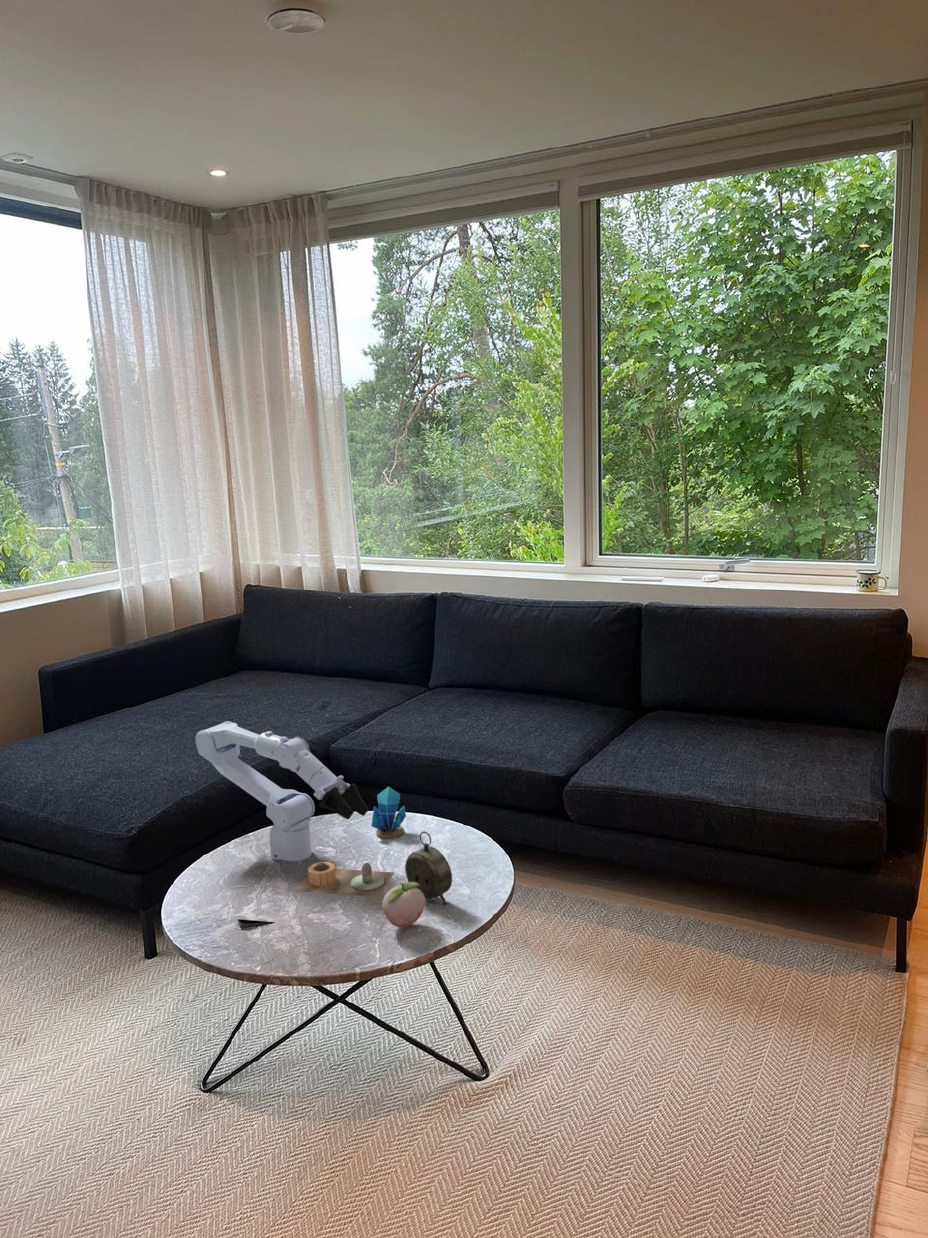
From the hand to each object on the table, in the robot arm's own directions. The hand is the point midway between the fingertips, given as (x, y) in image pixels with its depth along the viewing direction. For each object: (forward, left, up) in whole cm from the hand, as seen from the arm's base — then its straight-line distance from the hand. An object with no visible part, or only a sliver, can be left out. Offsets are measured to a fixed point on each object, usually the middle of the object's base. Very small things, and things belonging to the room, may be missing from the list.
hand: (358, 814), depth 220 cm
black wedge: (-18, -20, -16) cm, 31 cm away
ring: (-8, -6, -14) cm, 17 cm away
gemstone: (-1, +24, -16) cm, 29 cm away
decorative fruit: (+17, -22, -16) cm, 31 cm away
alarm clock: (+19, -10, -16) cm, 26 cm away
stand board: (-2, -6, -15) cm, 17 cm away
